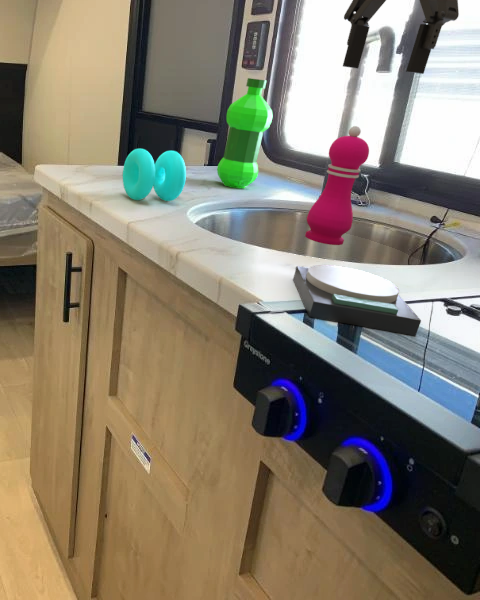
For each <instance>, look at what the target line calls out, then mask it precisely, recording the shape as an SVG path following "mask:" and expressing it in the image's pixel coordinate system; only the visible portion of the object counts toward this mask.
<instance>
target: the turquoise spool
mask: <svg viewBox="0 0 480 600" xmlns="http://www.w3.org/2000/svg"><path fill="white" fill-rule="evenodd" d="M186 180H187V167H186V163H185V160H184V158H183V156H182V155H181V154H180V153H179V152H178V151H176V150H166V151H164V152H162V153H161V154H160V155H159V156H158V158H157V159H156V160H154V159H153V156H152V154H151V153H150V152H149V151H148V150H147V149H145V148H140V147H139V148H134V149H133V150H132V151H130V153H129V154H128V155H127V157H125V161H124V164H123V169H122V185H123V188H124V192H125V194H126V195H127V196H128V197H129V198H130V199H131V200H134V201H141V200H143V199H145V198H147V197H148V196H149V195H150V193H151V192H152V190H154V192H155V194H156V195H157V197H158V198H159V199H161V200H162V201H165V202H172V201H174V200H176V199H178V197H180V195H181V194H182V192H183V190H184V188H185V185H186Z"/></svg>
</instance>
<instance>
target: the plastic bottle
mask: <svg viewBox="0 0 480 600" xmlns="http://www.w3.org/2000/svg"><path fill="white" fill-rule="evenodd" d="M267 82H268V81H267V80H266V79H259V78H252V77H251V78H250V77H248V78H247V80H246V85H245V87H247V91H246V92H247V93H246V94H244V95H242V96H241V97H240V98H239V97H238V99H236V100H235V101H234V102H232V103H231V104H230V105H229V107H228V108H227V111H226V116H225V117H226V124H227V125H228V127H229V128H228V134H227V138H226V142H225V143H226V144H225V148H224V152H223V157H222V158H221V159H220V161H219V163H218V164H217V167H216V172H217V176H218V177H219V179H220V180H221V182H222V183H223V185H224V186H225V187H229V188H234V189H245V188H246V187H248V186H250V185H251V184H252V183H254V182H255V181H256V179H257V178H258V175H259V165H258V158H259V153H260V148H261V144H262V139H263V135H264V132H265V131H267V130H268V129H269V128H270V125H271V124H272V122H273V121H272V120H273V110H272V108H271V106H270V105H269V104H268V102H267V101H266V99H264V97H263V96H262V92H263V90H265V89H266V85H267Z"/></svg>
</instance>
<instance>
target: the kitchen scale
mask: <svg viewBox="0 0 480 600" xmlns="http://www.w3.org/2000/svg"><path fill="white" fill-rule="evenodd" d="M292 280H293V283H294V284H295V287H296V289H297V291H298V294H299V296H300V299H301V301H302V303H303V306H304V308H305V310H306V313H307V315H308V317H309V318H312V319H313V318H314V319H317V320H324V321H329V322H335V323H340V324H346V325H352V326H357V327H364V328H369V329H374V330H375V329H376V330H381V331H386V332H391V333H398V334H403V335H408V336H412V337H413V336H415V337H416V336H417V333H418V331H419V328H420V326H421V323H422V320H421V318H420V317H419V316H418V315H417V314H416V313H415V311H413V310H412V308H411V306H409V305H408V304H407V302H406V301H405V300H404V299H403V298H402V296H401V295H400V288H399V287H398V286H397V285H396V284H395V283H393V282H391V281H390V280H388V279H386V278H385V277H381V276H379V275H377V274H373V273H371V272H368V271H364V270H362V269H358V268H353V267H348V266H344V265H343V266H341V265H334V264H316V265H312V266H309V267H305V266H299V265H297V266H296V268H295V272H294V274H293V278H292Z"/></svg>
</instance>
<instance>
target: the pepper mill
mask: <svg viewBox="0 0 480 600" xmlns="http://www.w3.org/2000/svg"><path fill="white" fill-rule="evenodd" d="M361 132H362V130H361V128H360V127H359V126H357V125H354V126H351V127H350V128H349V129H348V135H343V136H340V137H338V138H336V139H335V140H334V141H333V142H332V143H331V145H330V147H329V149H328V157H329V159H330V161H331V163H329V164H328V165H327V166H328V168H327V170H326V173H327V174H328V175H327V181H326V184H325V186H324V189H323V191H322V193H320V195H319V196H318V198H317V199H316V200H315V202H314V203H313V204H312V206H311V207H310V209H309V211H308V213H307V217H306V222H307V225H308V227H309V230H307V231H306V232H305V234H304V237H305V238H306V239H308V240H311V241H312V242H316V243H320V244H324V245H329V246H330V245H331V246H342V245H343V244H344V242H345V239H344V237H343V235H345V234H347V233H348V232H349V231H350V230H351V229H352V224H353V220H354V213H353V212H354V211H353V206H352V191H353V186H354V184H355V181H356V179H358V178H359V177H360V172H361V169H360V167H361V166H362V165H364V164H365V163H366V162H367V160H368V158H369V155H370V147H369V144H368V143H367V141H366V140H364V139H363V138H362V137H359V136H360V135H361Z"/></svg>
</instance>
